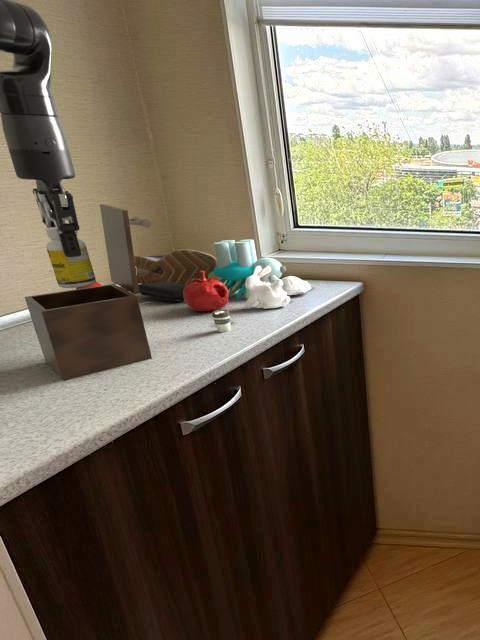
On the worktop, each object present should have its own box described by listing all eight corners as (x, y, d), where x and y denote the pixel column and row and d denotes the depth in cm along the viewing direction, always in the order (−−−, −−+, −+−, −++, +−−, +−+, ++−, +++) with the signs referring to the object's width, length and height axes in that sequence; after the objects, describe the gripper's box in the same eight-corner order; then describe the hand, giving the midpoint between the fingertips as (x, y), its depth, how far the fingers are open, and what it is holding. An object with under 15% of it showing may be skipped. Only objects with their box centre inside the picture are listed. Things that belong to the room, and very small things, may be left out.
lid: (122, 210, 87) (158, 210, 91) (99, 204, 94) (133, 205, 98) (133, 293, 91) (167, 290, 95) (111, 281, 99) (143, 279, 103)
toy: (290, 237, 141) (297, 291, 146) (208, 238, 139) (218, 293, 144) (278, 243, 130) (286, 301, 135) (188, 245, 128) (200, 303, 133)
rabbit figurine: (237, 309, 126) (230, 270, 122) (250, 301, 133) (243, 263, 129) (287, 309, 126) (281, 270, 122) (297, 301, 133) (291, 263, 129)
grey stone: (286, 290, 143) (284, 272, 141) (314, 290, 143) (312, 273, 141) (272, 298, 135) (269, 279, 133) (302, 298, 135) (299, 280, 133)
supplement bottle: (53, 285, 89) (35, 228, 86) (89, 280, 94) (73, 224, 90) (65, 290, 87) (47, 230, 83) (102, 284, 91) (86, 227, 87)
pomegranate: (185, 316, 120) (176, 277, 117) (188, 305, 129) (179, 268, 125) (231, 311, 124) (224, 273, 121) (231, 301, 133) (224, 265, 129)
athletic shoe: (201, 248, 139) (231, 245, 150) (115, 254, 145) (149, 251, 156) (210, 288, 142) (238, 283, 153) (125, 293, 148) (158, 287, 159)
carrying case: (170, 279, 143) (209, 286, 138) (171, 290, 144) (210, 297, 139) (133, 283, 134) (172, 290, 129) (134, 295, 135) (173, 302, 129)
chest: (64, 384, 87) (41, 311, 82) (46, 364, 95) (24, 296, 90) (152, 362, 97) (137, 295, 92) (130, 345, 104) (114, 283, 99)
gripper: (-1, 146, 83) (31, 250, 90) (17, 147, 75) (52, 263, 81) (56, 146, 88) (83, 245, 95) (80, 148, 80) (107, 257, 86)
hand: (68, 253), depth 88 cm, fingers closed on supplement bottle, 5 cm apart
